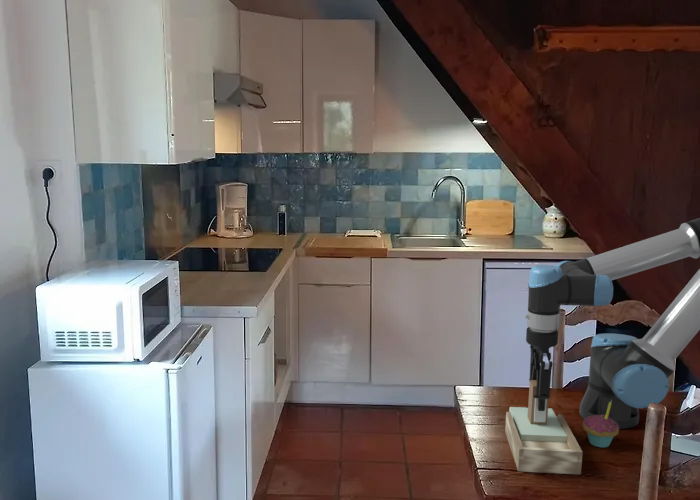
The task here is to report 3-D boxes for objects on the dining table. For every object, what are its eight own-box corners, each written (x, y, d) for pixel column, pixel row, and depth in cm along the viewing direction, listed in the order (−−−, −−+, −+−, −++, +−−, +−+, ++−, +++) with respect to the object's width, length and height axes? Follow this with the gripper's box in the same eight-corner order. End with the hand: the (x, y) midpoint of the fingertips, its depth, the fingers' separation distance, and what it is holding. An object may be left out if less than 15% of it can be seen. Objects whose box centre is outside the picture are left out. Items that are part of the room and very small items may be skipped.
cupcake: (618, 439, 168) (622, 394, 166) (616, 454, 160) (620, 407, 158) (582, 432, 171) (586, 389, 169) (579, 447, 164) (582, 401, 161)
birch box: (560, 434, 170) (562, 414, 169) (580, 474, 151) (582, 452, 150) (505, 431, 171) (506, 411, 170) (518, 471, 152) (519, 449, 151)
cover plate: (551, 413, 175) (554, 372, 173) (567, 442, 160) (570, 397, 158) (509, 412, 176) (511, 371, 174) (520, 440, 160) (523, 395, 158)
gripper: (520, 317, 172) (516, 403, 176) (534, 338, 155) (529, 432, 159) (549, 318, 171) (544, 403, 176) (567, 339, 154) (561, 433, 159)
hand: (537, 417), depth 167 cm, fingers closed on cover plate, 4 cm apart
